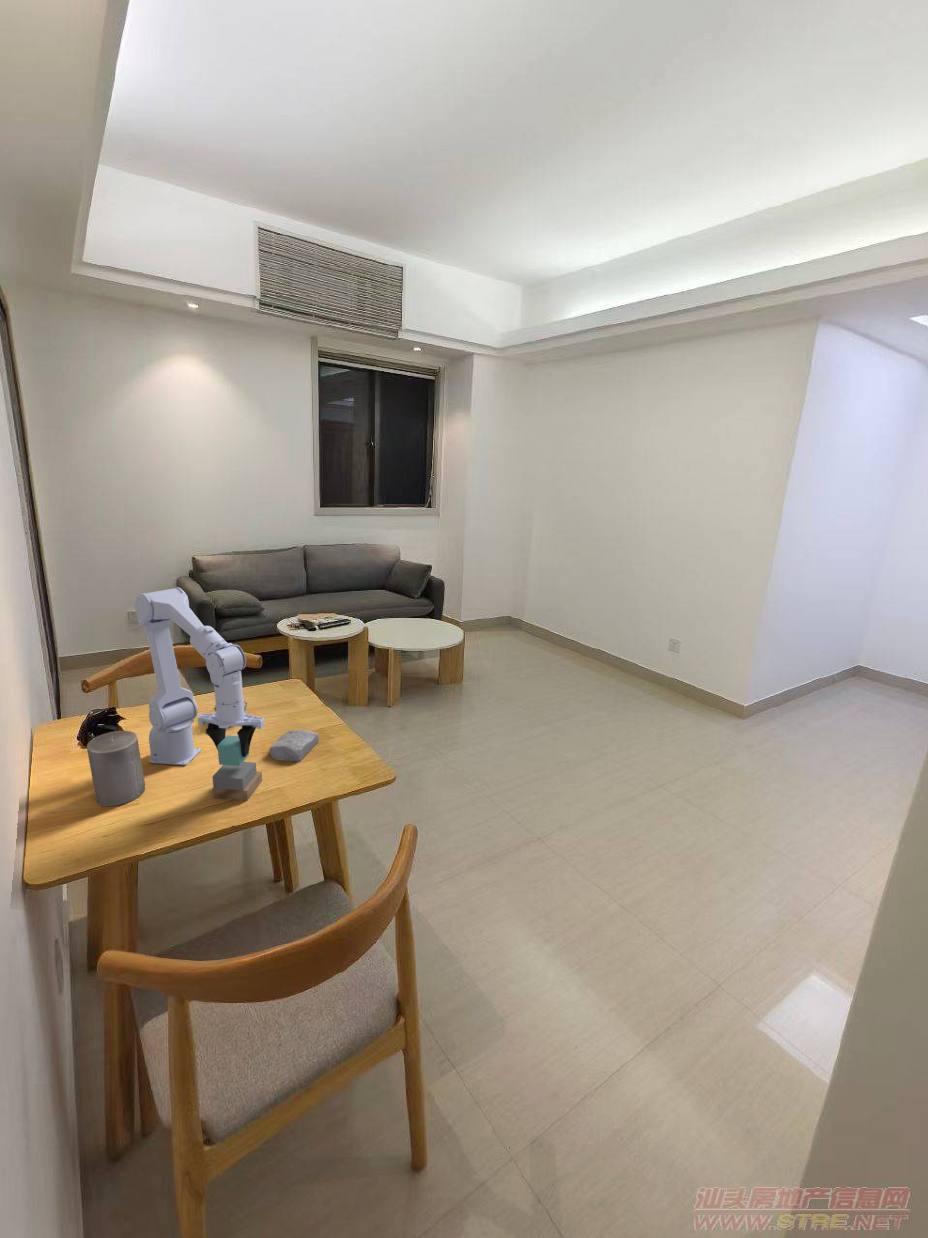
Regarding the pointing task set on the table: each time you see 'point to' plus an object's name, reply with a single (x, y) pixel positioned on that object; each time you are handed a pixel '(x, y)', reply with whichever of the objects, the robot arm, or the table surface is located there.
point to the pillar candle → (116, 768)
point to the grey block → (234, 776)
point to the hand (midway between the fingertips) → (234, 753)
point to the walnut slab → (239, 794)
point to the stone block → (294, 745)
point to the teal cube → (230, 751)
